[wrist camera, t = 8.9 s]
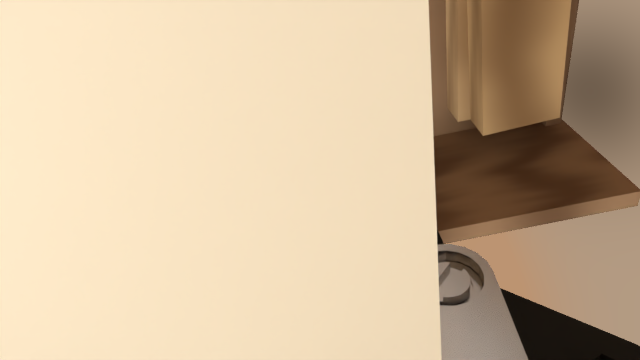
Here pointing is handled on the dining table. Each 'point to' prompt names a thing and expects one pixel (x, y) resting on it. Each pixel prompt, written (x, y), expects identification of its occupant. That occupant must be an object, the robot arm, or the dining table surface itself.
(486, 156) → the rack
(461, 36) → the offcut lower
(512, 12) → the offcut upper
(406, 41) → the birch panel
